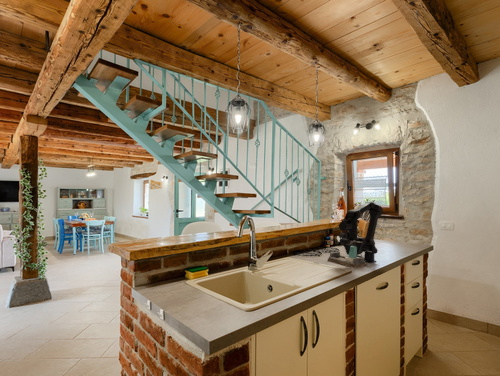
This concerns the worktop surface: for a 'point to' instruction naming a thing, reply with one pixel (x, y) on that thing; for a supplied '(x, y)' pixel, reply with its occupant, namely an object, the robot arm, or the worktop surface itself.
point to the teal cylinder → (352, 254)
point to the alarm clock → (355, 246)
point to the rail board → (341, 260)
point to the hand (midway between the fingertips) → (352, 253)
